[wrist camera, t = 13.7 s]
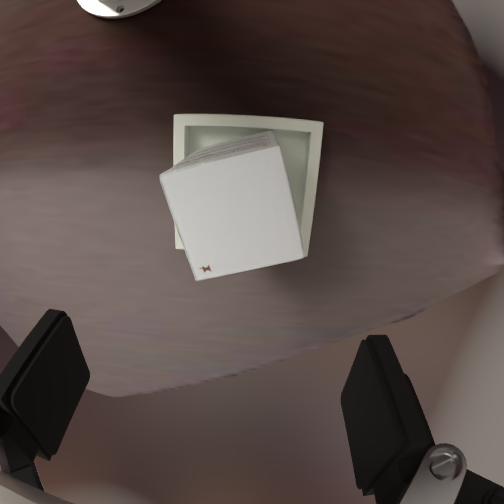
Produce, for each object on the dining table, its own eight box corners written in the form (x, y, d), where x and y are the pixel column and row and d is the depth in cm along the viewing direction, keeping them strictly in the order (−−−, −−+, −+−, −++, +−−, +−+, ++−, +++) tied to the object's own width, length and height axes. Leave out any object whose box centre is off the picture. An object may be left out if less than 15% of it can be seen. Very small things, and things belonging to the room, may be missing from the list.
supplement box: (290, 201, 31) (307, 263, 19) (216, 217, 32) (192, 285, 20) (273, 127, 28) (283, 143, 16) (196, 146, 29) (154, 176, 17)
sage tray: (180, 113, 28) (173, 114, 26) (318, 121, 28) (323, 122, 26) (181, 238, 34) (175, 248, 31) (304, 246, 34) (307, 256, 31)
